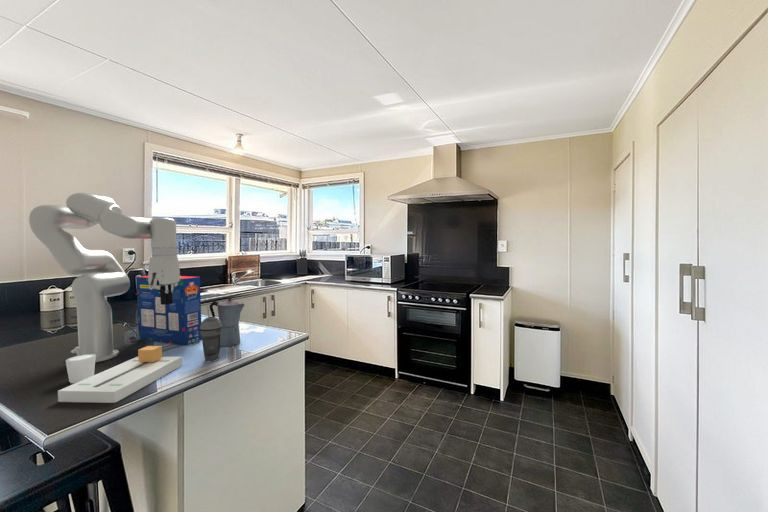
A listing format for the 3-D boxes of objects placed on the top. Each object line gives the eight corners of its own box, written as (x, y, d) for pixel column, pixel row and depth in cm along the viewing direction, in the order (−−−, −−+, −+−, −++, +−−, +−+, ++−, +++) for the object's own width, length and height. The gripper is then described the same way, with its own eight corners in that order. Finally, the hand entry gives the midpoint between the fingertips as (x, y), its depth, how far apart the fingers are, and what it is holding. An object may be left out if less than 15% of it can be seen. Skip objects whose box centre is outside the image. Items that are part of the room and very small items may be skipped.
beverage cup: (213, 363, 112) (211, 307, 111) (195, 362, 113) (193, 306, 113) (227, 356, 119) (226, 303, 118) (210, 355, 120) (208, 302, 120)
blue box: (201, 340, 140) (199, 276, 139) (185, 345, 132) (182, 278, 131) (156, 334, 149) (154, 275, 148) (138, 339, 142) (136, 277, 141)
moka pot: (240, 347, 129) (239, 298, 129) (203, 347, 130) (201, 298, 129) (250, 340, 139) (249, 294, 138) (215, 340, 139) (214, 294, 138)
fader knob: (138, 361, 105) (138, 349, 105) (148, 357, 109) (147, 346, 109) (153, 362, 105) (152, 350, 105) (162, 357, 109) (161, 346, 109)
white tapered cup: (79, 375, 103) (78, 353, 103) (102, 374, 103) (101, 353, 103) (59, 384, 96) (58, 361, 96) (84, 383, 97) (83, 360, 96)
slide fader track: (58, 401, 85) (57, 390, 85) (137, 364, 111) (137, 356, 111) (115, 402, 85) (114, 391, 84) (182, 365, 111) (181, 356, 110)
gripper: (169, 252, 121) (171, 300, 122) (137, 253, 106) (139, 308, 107) (188, 252, 121) (190, 300, 121) (158, 253, 106) (161, 308, 106)
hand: (166, 303), depth 114 cm, fingers closed
